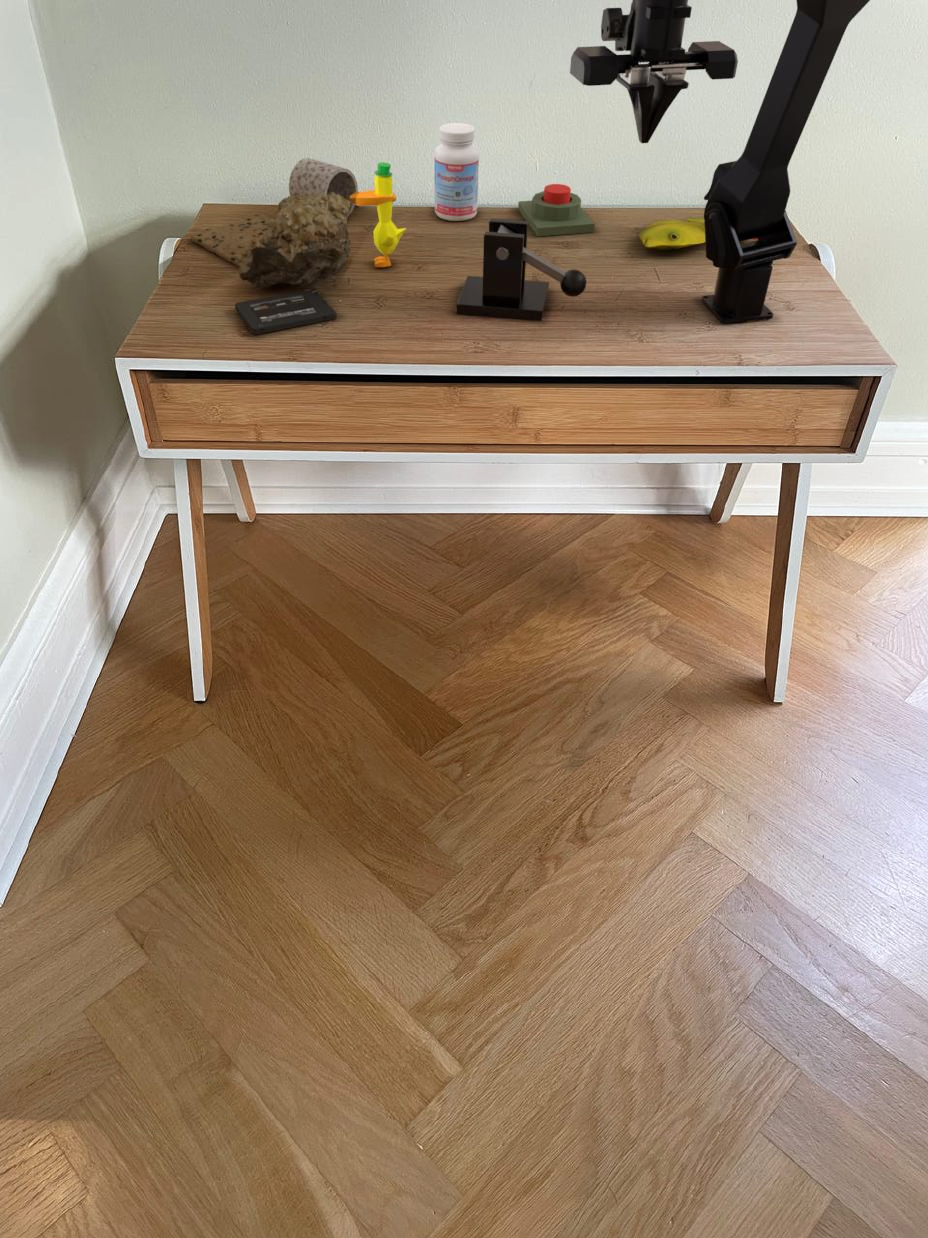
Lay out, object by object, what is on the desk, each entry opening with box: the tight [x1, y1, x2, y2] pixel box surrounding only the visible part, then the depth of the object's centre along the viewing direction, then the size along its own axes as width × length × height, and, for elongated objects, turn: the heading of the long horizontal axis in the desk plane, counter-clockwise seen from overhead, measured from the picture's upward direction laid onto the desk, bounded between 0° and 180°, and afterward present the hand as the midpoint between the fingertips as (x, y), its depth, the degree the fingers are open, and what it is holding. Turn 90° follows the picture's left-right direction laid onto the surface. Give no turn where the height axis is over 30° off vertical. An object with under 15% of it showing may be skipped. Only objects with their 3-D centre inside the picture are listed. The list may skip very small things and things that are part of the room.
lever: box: [498, 225, 587, 298], centre depth 109 cm, size 12×3×3 cm, turn 81°
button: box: [543, 183, 572, 205], centre depth 129 cm, size 4×4×2 cm
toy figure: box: [350, 161, 407, 268], centre depth 116 cm, size 7×4×12 cm, turn 102°
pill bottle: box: [433, 122, 480, 222], centre depth 129 cm, size 6×6×11 cm
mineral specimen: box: [234, 192, 352, 290], centre depth 113 cm, size 14×13×10 cm
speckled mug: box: [288, 157, 359, 218], centre depth 131 cm, size 10×7×7 cm
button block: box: [517, 190, 595, 237], centre depth 130 cm, size 10×8×3 cm
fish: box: [638, 216, 705, 251], centre depth 126 cm, size 3×16×10 cm
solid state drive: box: [234, 288, 337, 335], centre depth 109 cm, size 7×10×1 cm
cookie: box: [191, 213, 276, 268], centre depth 124 cm, size 12×12×1 cm
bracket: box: [456, 218, 550, 322], centre depth 109 cm, size 10×8×9 cm
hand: (643, 142), depth 116 cm, fingers closed
